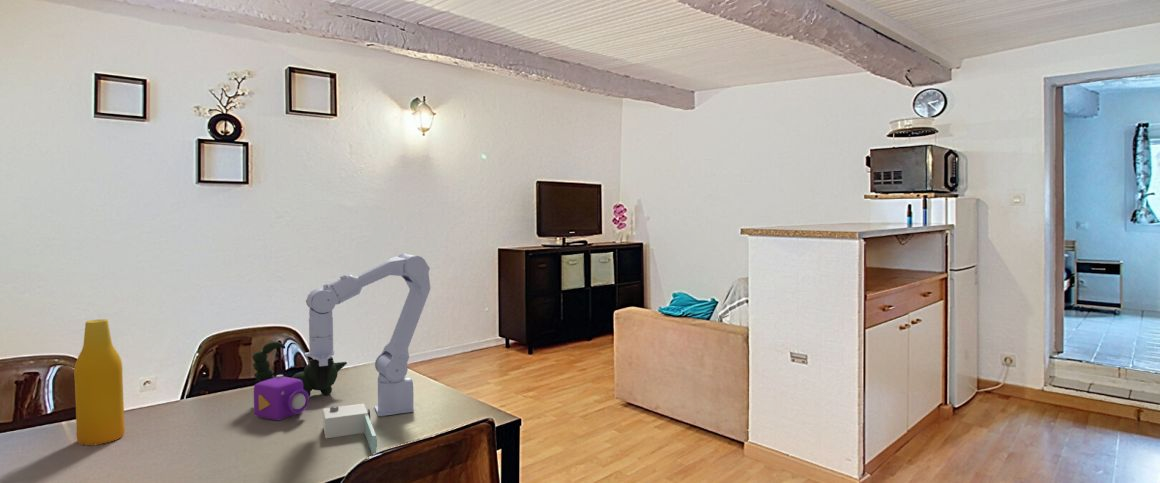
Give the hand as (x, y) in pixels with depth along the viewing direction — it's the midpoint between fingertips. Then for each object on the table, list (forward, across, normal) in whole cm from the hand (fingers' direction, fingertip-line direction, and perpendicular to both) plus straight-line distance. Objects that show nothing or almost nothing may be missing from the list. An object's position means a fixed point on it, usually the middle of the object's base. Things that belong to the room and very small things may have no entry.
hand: (322, 386), depth 160 cm
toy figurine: (+10, -25, -4) cm, 27 cm away
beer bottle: (+10, -11, -49) cm, 51 cm away
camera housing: (+10, +7, +5) cm, 13 cm away
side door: (+10, +19, +10) cm, 23 cm away
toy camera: (+10, -11, -9) cm, 17 cm away
